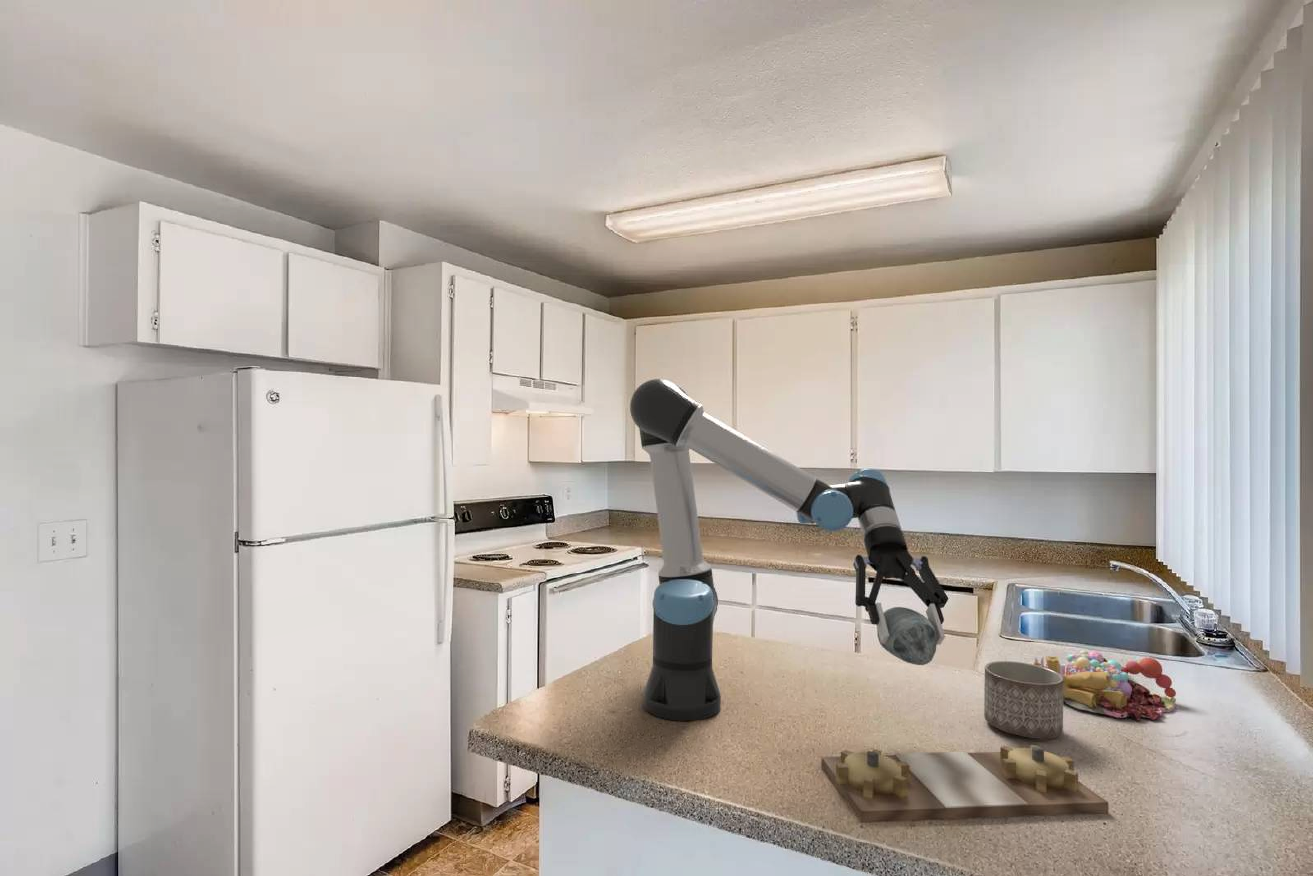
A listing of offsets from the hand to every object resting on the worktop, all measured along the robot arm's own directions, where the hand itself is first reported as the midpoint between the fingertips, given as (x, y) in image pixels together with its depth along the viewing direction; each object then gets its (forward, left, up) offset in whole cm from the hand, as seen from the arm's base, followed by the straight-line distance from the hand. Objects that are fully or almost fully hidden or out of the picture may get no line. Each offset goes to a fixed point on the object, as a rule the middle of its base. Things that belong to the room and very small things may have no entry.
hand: (912, 640), depth 117 cm
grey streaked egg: (0, +3, -4) cm, 5 cm away
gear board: (-1, -16, -18) cm, 24 cm away
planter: (+23, +4, -18) cm, 30 cm away
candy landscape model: (+50, +18, -18) cm, 56 cm away
